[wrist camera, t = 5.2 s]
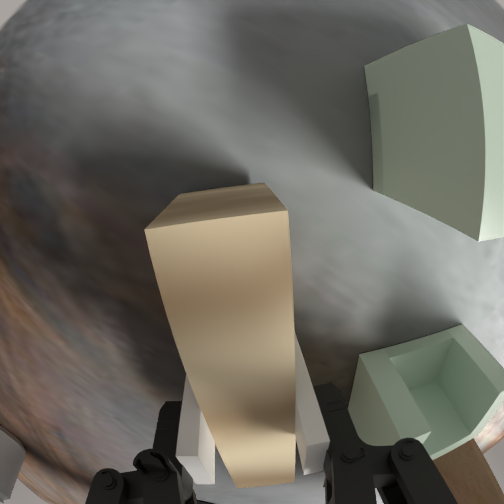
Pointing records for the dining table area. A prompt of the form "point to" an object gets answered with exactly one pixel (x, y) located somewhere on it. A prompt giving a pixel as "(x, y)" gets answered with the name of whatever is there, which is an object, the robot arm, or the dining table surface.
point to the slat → (234, 321)
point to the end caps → (447, 211)
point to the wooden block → (469, 475)
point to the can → (9, 462)
